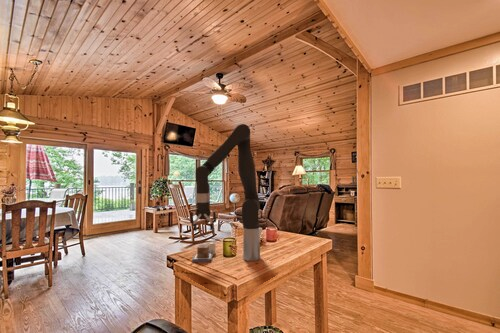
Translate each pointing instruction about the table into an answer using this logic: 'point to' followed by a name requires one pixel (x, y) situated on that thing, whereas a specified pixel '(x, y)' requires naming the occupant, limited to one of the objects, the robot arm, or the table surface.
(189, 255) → the table surface
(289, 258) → the table surface
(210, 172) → the robot arm
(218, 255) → the table surface
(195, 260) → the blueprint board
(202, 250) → the walnut cube
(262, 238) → the duck figurine
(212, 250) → the cream cylinder
